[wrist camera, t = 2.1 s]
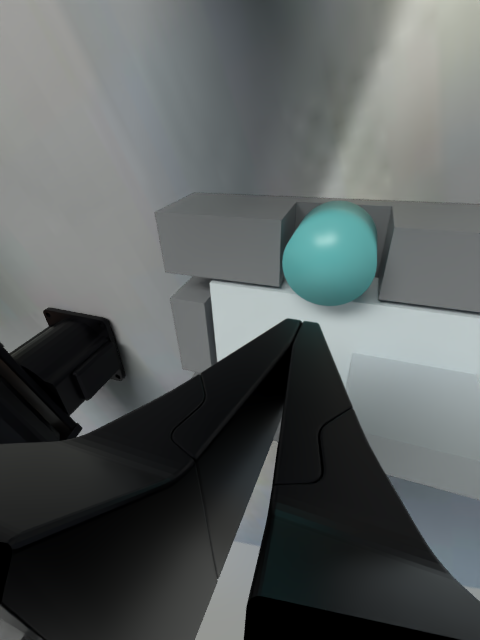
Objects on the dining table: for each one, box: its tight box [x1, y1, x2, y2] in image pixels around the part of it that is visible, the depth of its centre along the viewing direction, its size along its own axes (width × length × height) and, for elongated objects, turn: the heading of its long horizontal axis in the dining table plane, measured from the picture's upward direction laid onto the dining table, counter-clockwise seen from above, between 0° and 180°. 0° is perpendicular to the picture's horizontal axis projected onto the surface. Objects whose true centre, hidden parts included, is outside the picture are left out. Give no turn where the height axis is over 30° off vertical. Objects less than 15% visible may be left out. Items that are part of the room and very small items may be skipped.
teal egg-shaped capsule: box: [282, 201, 377, 306], centre depth 13 cm, size 3×3×3 cm
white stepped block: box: [210, 277, 480, 500], centre depth 15 cm, size 14×7×7 cm, turn 93°
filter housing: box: [155, 193, 480, 442], centre depth 18 cm, size 16×14×4 cm
